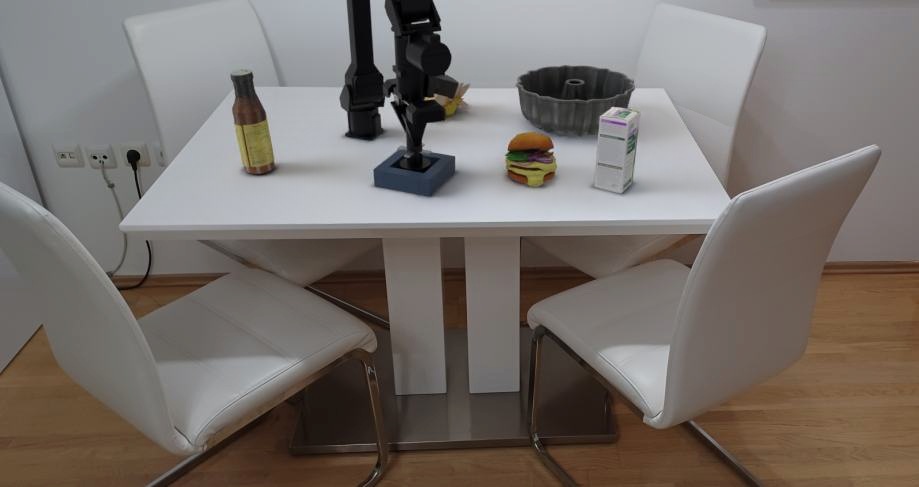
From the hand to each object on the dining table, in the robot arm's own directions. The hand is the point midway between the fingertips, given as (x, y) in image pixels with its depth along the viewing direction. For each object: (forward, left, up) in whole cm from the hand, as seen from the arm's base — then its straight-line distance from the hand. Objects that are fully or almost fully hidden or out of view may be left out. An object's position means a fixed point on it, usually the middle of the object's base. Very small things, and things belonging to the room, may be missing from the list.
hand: (414, 143), depth 136 cm
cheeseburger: (+20, +10, -8) cm, 24 cm away
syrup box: (+36, +12, -8) cm, 39 cm away
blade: (0, 0, -6) cm, 6 cm away
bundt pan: (+20, +41, -8) cm, 46 cm away
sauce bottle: (-31, -8, -8) cm, 33 cm away
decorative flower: (-10, +36, -8) cm, 38 cm away
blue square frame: (0, 0, -8) cm, 8 cm away
